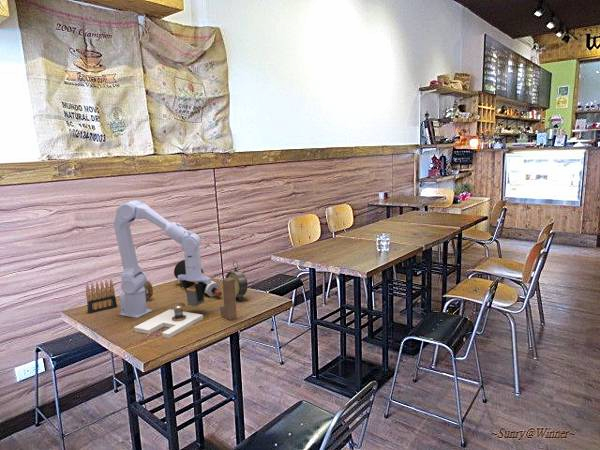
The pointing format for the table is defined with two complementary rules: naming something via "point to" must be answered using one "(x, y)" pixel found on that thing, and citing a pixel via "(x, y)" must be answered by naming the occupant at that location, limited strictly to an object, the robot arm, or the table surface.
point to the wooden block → (229, 299)
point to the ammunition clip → (100, 297)
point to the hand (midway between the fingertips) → (195, 299)
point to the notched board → (168, 323)
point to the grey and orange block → (193, 297)
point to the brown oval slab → (148, 290)
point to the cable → (211, 288)
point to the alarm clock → (238, 282)
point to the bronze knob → (178, 312)
